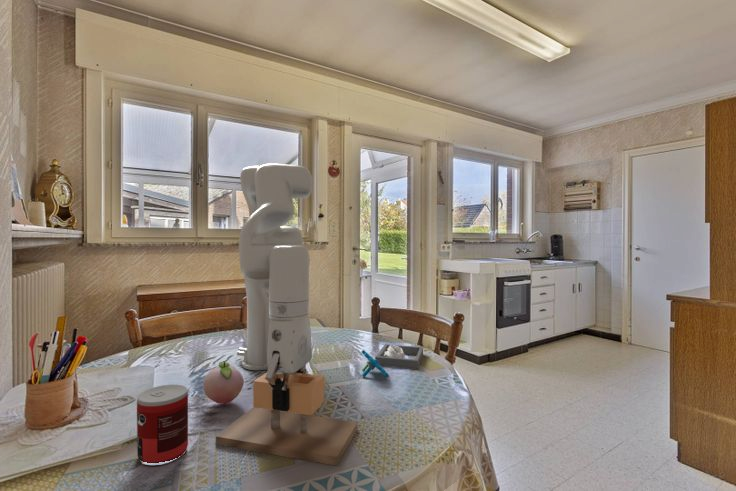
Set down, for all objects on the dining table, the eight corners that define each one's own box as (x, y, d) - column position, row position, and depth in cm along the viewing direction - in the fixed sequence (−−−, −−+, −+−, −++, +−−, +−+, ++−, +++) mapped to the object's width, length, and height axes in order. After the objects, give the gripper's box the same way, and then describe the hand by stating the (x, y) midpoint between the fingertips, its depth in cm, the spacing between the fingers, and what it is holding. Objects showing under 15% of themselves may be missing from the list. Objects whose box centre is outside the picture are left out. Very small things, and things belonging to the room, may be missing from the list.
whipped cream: (391, 357, 120) (390, 342, 120) (409, 358, 116) (408, 343, 117) (379, 362, 113) (379, 346, 113) (398, 364, 110) (398, 348, 110)
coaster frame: (375, 365, 109) (375, 356, 109) (385, 351, 123) (385, 344, 123) (417, 369, 106) (417, 360, 106) (423, 354, 119) (423, 347, 119)
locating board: (215, 444, 67) (215, 417, 67) (252, 414, 78) (252, 391, 78) (337, 465, 61) (337, 436, 60) (357, 429, 72) (357, 404, 72)
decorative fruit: (199, 402, 84) (199, 360, 84) (234, 393, 89) (234, 353, 89) (209, 418, 76) (209, 371, 76) (247, 407, 81) (247, 363, 81)
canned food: (151, 442, 67) (150, 384, 67) (195, 441, 68) (194, 383, 68) (127, 468, 60) (126, 403, 59) (177, 466, 60) (176, 401, 60)
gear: (393, 377, 96) (366, 350, 96) (378, 394, 95) (351, 367, 94) (386, 368, 106) (362, 344, 106) (372, 383, 105) (348, 359, 105)
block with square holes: (324, 401, 71) (324, 375, 71) (311, 415, 65) (311, 387, 65) (270, 394, 74) (270, 370, 74) (253, 407, 68) (253, 381, 68)
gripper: (285, 319, 60) (285, 426, 60) (324, 302, 76) (324, 386, 77) (245, 317, 62) (246, 421, 62) (292, 301, 78) (292, 383, 79)
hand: (289, 401), depth 69 cm, fingers closed on block with square holes, 6 cm apart
